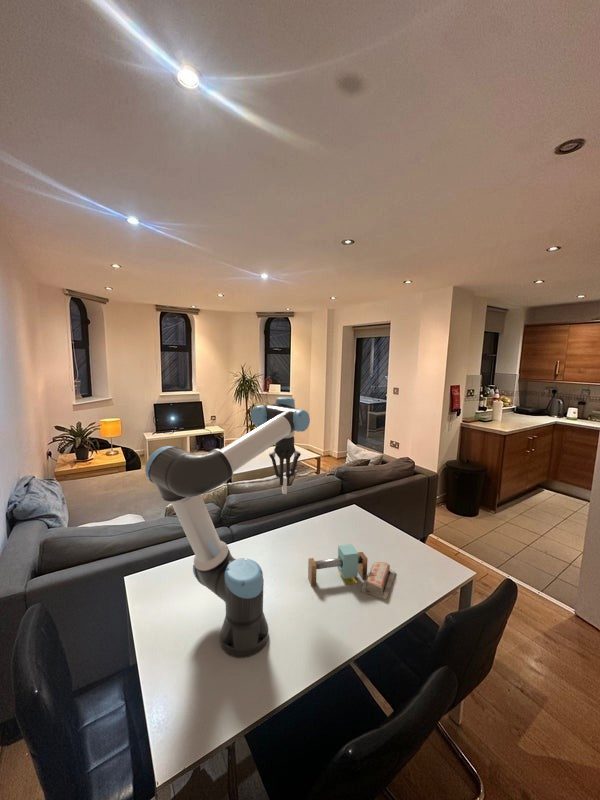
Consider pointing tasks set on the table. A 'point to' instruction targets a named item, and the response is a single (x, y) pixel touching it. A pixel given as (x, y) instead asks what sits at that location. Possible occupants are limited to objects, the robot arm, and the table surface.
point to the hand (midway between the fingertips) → (284, 492)
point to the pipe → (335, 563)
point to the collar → (348, 561)
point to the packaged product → (379, 580)
